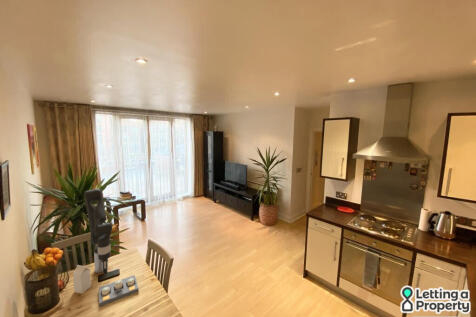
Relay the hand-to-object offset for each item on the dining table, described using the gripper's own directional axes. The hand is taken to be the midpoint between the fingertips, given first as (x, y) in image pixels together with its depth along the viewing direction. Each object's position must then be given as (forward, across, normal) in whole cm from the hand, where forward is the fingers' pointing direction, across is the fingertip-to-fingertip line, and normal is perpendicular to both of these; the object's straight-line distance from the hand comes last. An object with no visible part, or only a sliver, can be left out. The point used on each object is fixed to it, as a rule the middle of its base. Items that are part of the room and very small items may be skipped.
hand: (105, 273), depth 140 cm
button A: (+16, 0, 0) cm, 16 cm away
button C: (+16, +1, +16) cm, 22 cm away
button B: (+14, 0, +8) cm, 16 cm away
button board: (+17, 0, +8) cm, 19 cm away
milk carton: (+18, -16, -14) cm, 28 cm away
